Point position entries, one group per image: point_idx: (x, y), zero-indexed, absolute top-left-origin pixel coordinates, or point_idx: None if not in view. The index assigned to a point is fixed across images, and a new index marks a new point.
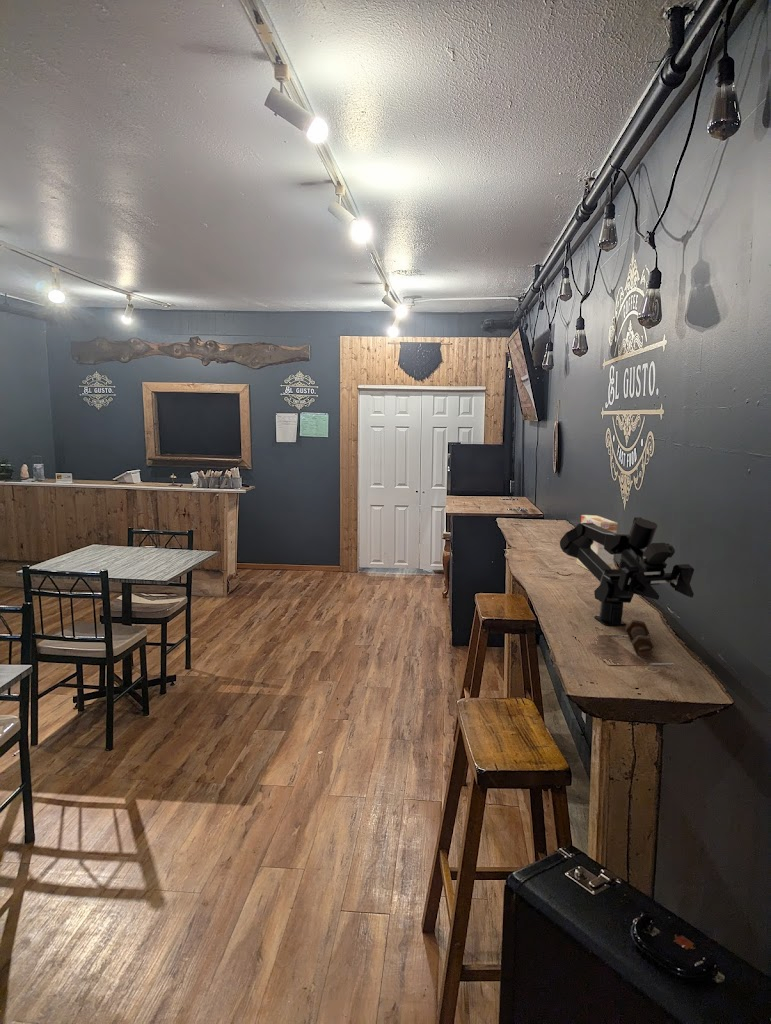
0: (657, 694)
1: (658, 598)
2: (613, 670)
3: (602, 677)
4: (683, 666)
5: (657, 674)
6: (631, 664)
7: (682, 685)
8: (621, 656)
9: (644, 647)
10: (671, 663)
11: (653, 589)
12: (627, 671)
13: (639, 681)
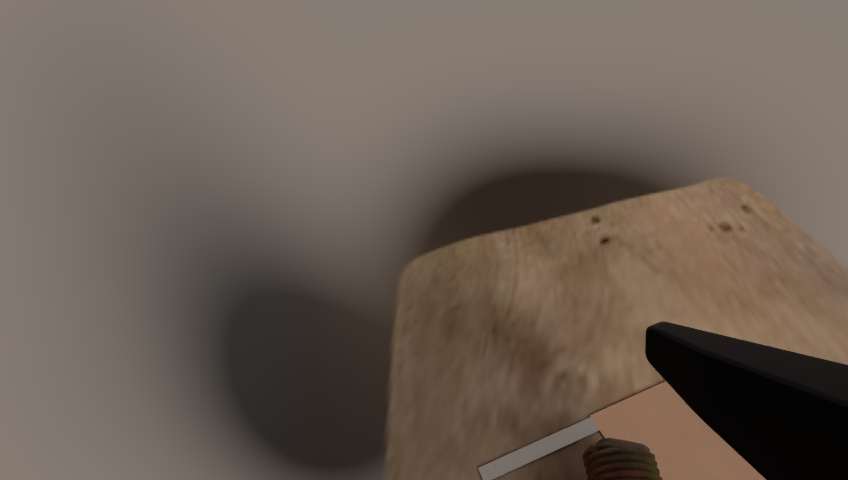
0: (552, 231)
1: (647, 343)
2: (699, 321)
3: (712, 263)
4: (443, 463)
5: (551, 344)
6: (652, 392)
7: (481, 297)
8: (720, 475)
9: (626, 445)
10: (490, 472)
11: (754, 358)
12: None
13: (602, 277)
